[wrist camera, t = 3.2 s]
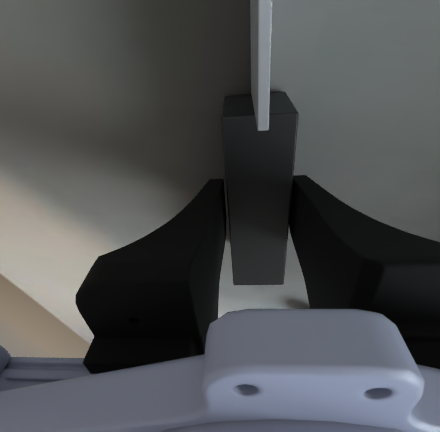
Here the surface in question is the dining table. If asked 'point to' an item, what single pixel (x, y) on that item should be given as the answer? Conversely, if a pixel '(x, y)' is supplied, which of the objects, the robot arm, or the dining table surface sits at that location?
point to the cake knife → (259, 164)
